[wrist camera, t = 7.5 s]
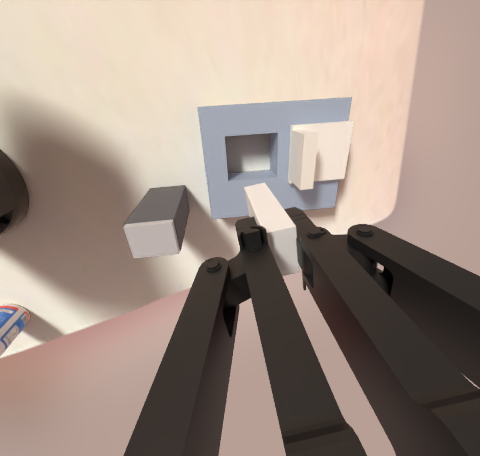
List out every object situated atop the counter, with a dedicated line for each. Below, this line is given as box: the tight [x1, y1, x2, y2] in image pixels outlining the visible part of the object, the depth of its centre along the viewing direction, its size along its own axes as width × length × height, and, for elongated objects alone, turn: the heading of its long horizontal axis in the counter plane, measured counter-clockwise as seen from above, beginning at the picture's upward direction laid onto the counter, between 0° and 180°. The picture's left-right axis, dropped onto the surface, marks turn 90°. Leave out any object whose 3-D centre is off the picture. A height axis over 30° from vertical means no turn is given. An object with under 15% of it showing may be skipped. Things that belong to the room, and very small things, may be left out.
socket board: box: [198, 97, 352, 219], centre depth 31 cm, size 18×14×4 cm
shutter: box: [288, 121, 354, 190], centre depth 27 cm, size 8×7×5 cm
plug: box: [123, 185, 189, 259], centre depth 29 cm, size 5×4×12 cm
